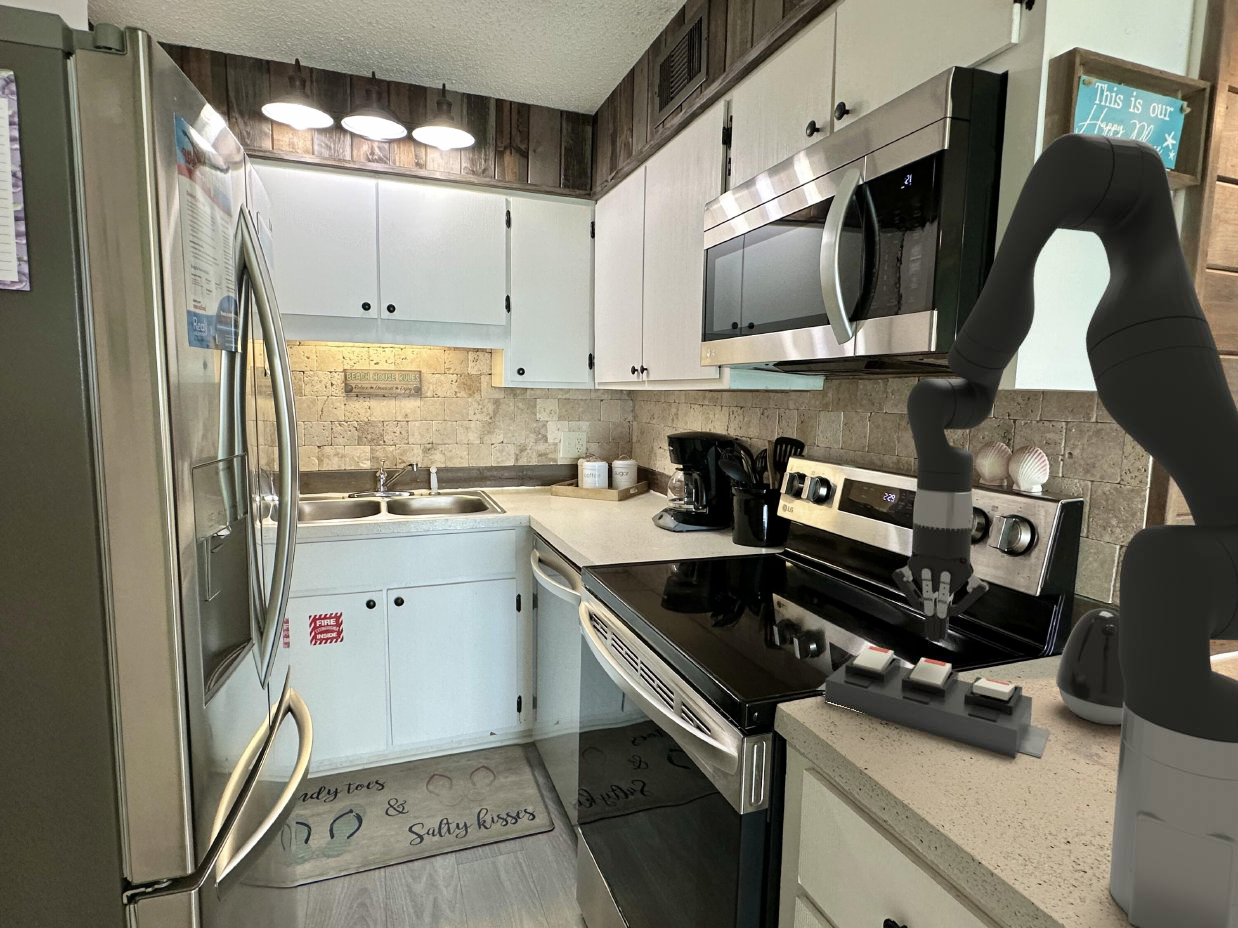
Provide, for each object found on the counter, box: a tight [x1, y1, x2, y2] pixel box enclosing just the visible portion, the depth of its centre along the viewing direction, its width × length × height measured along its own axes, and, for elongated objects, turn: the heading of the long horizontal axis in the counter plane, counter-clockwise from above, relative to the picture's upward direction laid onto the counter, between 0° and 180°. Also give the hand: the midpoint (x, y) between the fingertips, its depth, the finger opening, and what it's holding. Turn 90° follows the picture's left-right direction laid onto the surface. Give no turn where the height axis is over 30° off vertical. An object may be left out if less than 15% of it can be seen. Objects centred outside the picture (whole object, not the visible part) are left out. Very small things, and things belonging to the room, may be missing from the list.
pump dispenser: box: [1055, 607, 1124, 726], centre depth 94 cm, size 10×10×15 cm
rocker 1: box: [853, 644, 895, 672], centre depth 102 cm, size 6×4×1 cm, turn 141°
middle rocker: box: [910, 657, 952, 687], centre depth 97 cm, size 6×4×1 cm, turn 141°
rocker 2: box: [973, 677, 1016, 700], centre depth 92 cm, size 6×4×1 cm, turn 141°
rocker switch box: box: [816, 653, 1051, 759], centre depth 95 cm, size 12×29×5 cm, turn 51°
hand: (935, 640), depth 98 cm, fingers closed
